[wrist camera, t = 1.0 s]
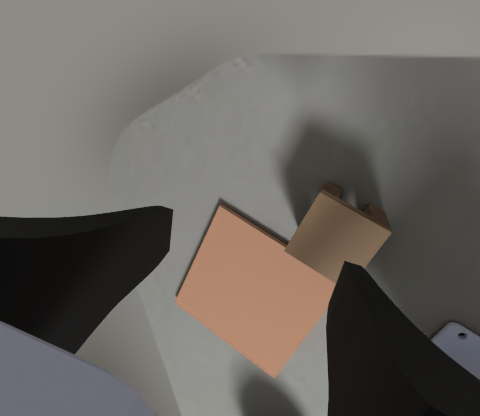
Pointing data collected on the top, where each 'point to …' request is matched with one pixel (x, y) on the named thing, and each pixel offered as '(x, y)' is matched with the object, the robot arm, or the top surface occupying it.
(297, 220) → the top surface
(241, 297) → the mat
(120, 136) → the top surface
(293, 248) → the notched brown block
